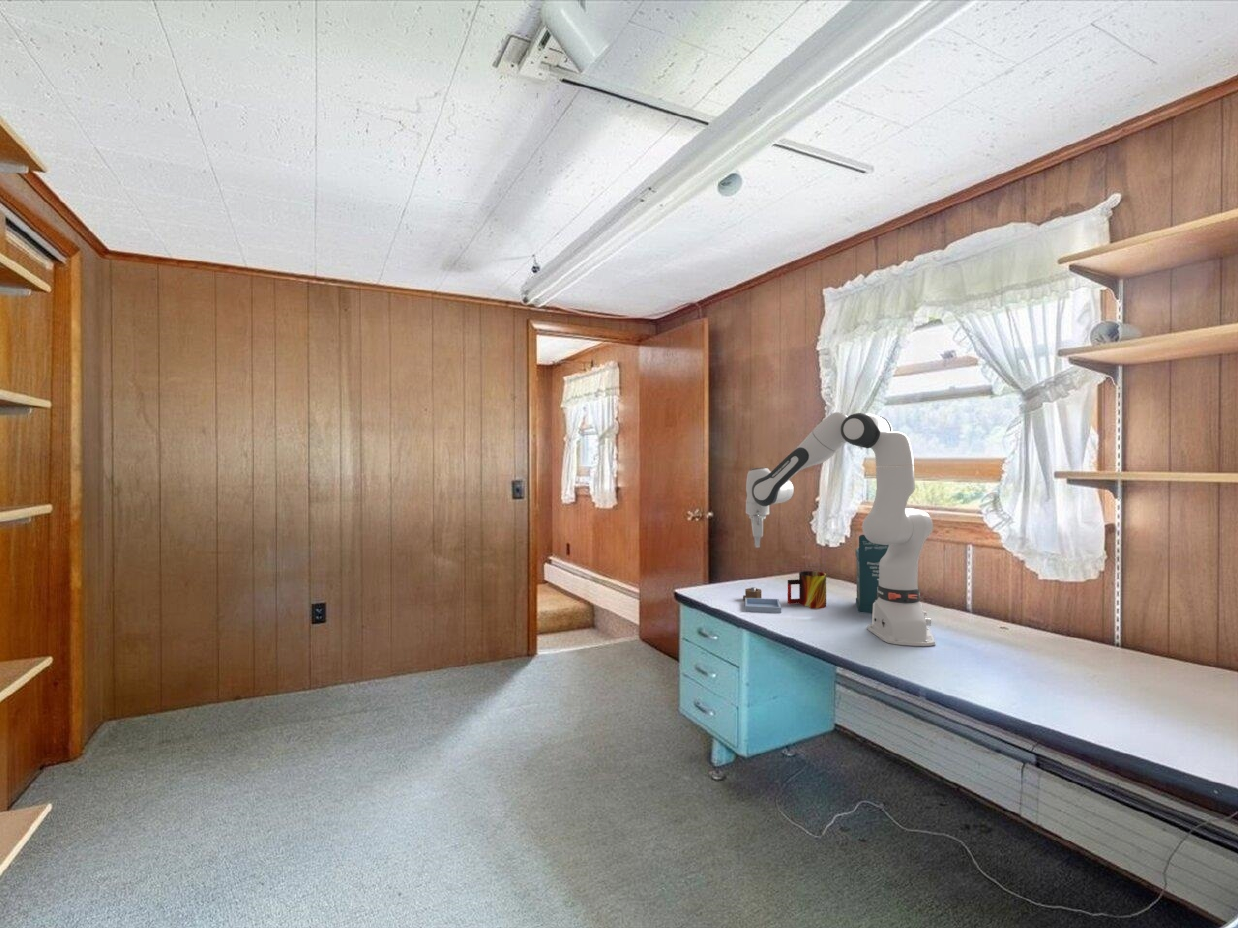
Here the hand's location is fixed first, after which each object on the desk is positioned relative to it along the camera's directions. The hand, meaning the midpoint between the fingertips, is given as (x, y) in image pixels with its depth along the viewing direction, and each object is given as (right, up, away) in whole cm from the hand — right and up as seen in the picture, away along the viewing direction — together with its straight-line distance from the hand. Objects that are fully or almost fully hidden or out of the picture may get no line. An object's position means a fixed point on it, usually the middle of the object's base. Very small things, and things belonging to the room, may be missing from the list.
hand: (757, 545), depth 224 cm
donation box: (+43, -22, -11) cm, 49 cm away
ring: (-1, -21, 0) cm, 21 cm away
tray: (0, -22, -11) cm, 25 cm away
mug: (+18, -22, -7) cm, 29 cm away
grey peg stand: (-1, -22, 0) cm, 22 cm away
